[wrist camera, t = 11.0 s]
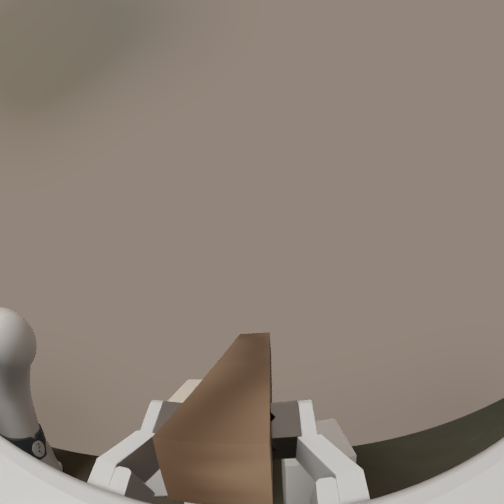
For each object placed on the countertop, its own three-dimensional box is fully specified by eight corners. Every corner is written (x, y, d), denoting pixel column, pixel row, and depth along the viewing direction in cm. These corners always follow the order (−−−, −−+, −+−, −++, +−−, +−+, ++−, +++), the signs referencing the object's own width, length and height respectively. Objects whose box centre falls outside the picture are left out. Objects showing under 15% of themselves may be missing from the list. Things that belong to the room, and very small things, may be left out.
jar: (171, 501, 33) (158, 459, 35) (135, 491, 34) (121, 449, 36) (186, 479, 41) (177, 438, 43) (153, 472, 42) (143, 432, 44)
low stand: (286, 529, 25) (285, 466, 28) (282, 486, 39) (280, 425, 41) (346, 520, 25) (356, 455, 27) (330, 479, 38) (334, 418, 41)
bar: (169, 499, 5) (152, 436, 5) (241, 357, 27) (240, 334, 27) (273, 506, 5) (269, 443, 5) (270, 355, 27) (269, 332, 27)
